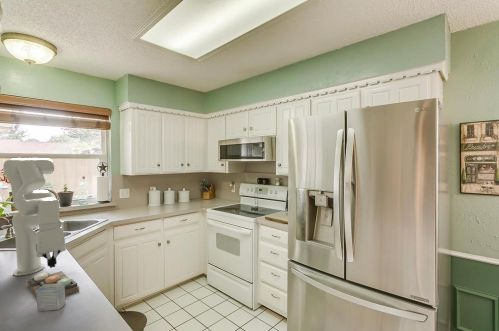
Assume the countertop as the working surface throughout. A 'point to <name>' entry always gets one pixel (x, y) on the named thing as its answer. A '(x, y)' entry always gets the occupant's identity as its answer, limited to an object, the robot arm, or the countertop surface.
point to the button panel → (68, 289)
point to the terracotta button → (52, 279)
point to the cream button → (40, 277)
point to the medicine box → (50, 297)
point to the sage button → (65, 281)
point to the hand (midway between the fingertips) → (52, 266)
